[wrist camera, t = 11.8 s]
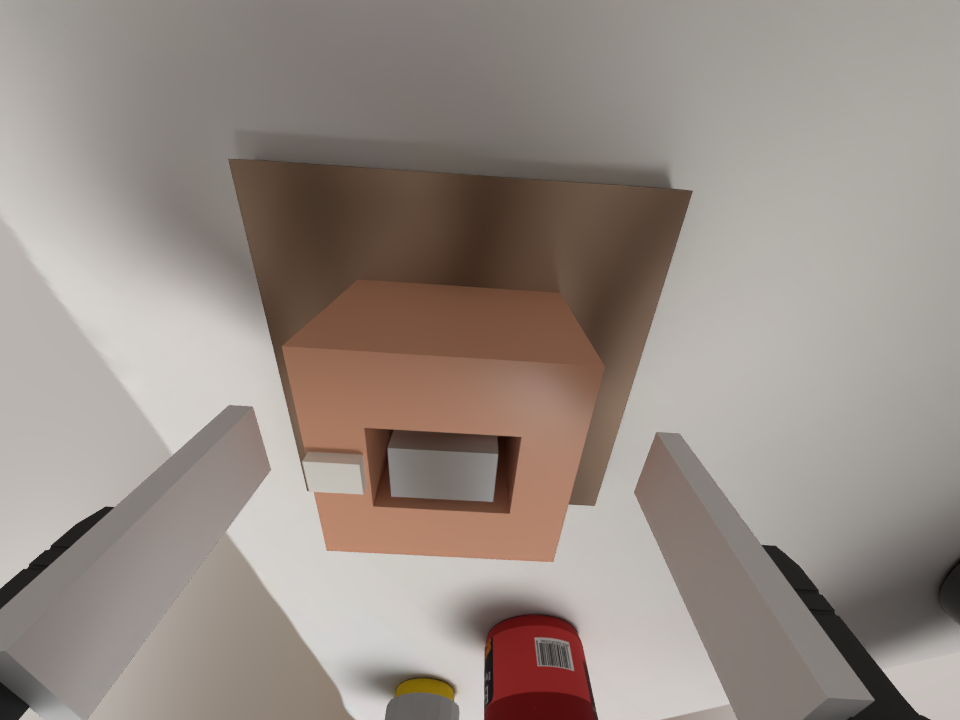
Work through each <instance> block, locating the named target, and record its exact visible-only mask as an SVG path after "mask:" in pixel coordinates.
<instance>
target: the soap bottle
mask: <svg viewBox="0 0 960 720" xmlns="http://www.w3.org/2000/svg"><path fill="white" fill-rule="evenodd" d="M385 720H459V706H458V705H457V704H456V703H455V702H454V692H453V689H452V688H451V687H450V686H449V685H448V684H446V683H444V682H442V681H439V680H434V679H429V678H416V679H411V680H407V681H405V682H403V683H401V684H400V685H399V686H398V688H397V690H396V693H395V697H394V698H393V699H391V700H390V702H389V704H388V705H387V709H386V716H385Z"/></svg>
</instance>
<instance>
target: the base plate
mask: <svg viewBox="0 0 960 720" xmlns="http://www.w3.org/2000/svg"><path fill="white" fill-rule="evenodd" d="M228 160H229V164H230V168H231V173H232V177H233V181H234V185H235V189H236V194H237V198H238V202H239V206H240V210H241V215H242V219H243V223H244V227H245V231H246V236H247V240H248V244H249V248H250V252H251V256H252V261H253V265H254V269H255V273H256V277H257V282H258V286H259V290H260V294H261V298H262V303H263V307H264V311H265V315H266V319H267V324H268V328H269V332H270V336H271V340H272V344H273V349H274V353H275V357H276V361H277V365H278V370H279V374H280V378H281V382H282V386H283V391H284V395H285V399H286V403H287V407H288V412H289V416H290V420H291V424H292V428H293V432H294V437H295V441H296V445H297V449H298V453H299V458H300V462H301V466H302V470H303V474H304V479H305V483H306V487H307V491H309V489H308V485H307V481H306V476H305V472H304V467H303V463H302V461H303V459H304V458H305V456H306V454H305V450H304V445H303V441H302V436H301V432H300V427H299V423H298V418H297V414H296V409H295V405H294V400H293V396H292V391H291V386H290V382H289V377H288V373H287V368H286V364H285V359H284V355H283V350H282V345H284V344H285V343H286V342H287V341H288V340H289V339H290V338H292V337H293V336H294V335H295V334H296V333H297V332H298V331H300V330H301V329H302V328H303V327H304V326H305V325H306V324H308V323H309V322H310V321H311V320H312V319H313V318H315V317H316V316H317V315H318V314H319V313H320V312H321V311H323V310H324V309H325V308H326V307H327V306H328V305H329V304H331V303H332V302H333V301H334V300H335V299H336V298H337V297H339V296H340V295H341V294H342V293H343V292H344V291H345V290H347V289H348V288H349V287H350V286H351V285H352V284H353V283H355V282H356V281H357V280H358V279H360V280H375V281H390V282H405V283H420V284H435V285H450V286H465V287H480V288H495V289H510V290H525V291H540V292H555V293H560V294H561V295H562V297H563V299H564V300H565V302H566V303H567V305H568V307H569V308H570V310H571V312H572V313H573V315H574V317H575V318H576V320H577V321H578V323H579V325H580V326H581V328H582V330H583V331H584V333H585V335H586V336H587V338H588V339H589V341H590V343H591V344H592V346H593V348H594V349H595V351H596V353H597V354H598V356H599V357H600V359H601V361H602V362H603V364H604V366H605V368H604V372H603V376H602V380H601V383H600V387H599V391H598V395H597V399H596V402H595V406H594V410H593V414H592V417H591V421H590V425H589V429H588V432H587V436H586V440H585V444H584V448H583V451H582V455H581V459H580V463H579V466H578V470H577V474H576V478H575V481H574V485H573V489H572V493H571V497H570V500H569V504H571V505H590V506H595V503H596V500H597V497H598V494H599V490H600V487H601V484H602V481H603V477H604V474H605V471H606V468H607V465H608V461H609V458H610V455H611V452H612V449H613V445H614V442H615V439H616V436H617V433H618V429H619V426H620V423H621V420H622V416H623V413H624V410H625V407H626V404H627V400H628V397H629V394H630V391H631V388H632V384H633V381H634V378H635V375H636V372H637V368H638V365H639V362H640V359H641V356H642V352H643V349H644V346H645V343H646V339H647V336H648V333H649V330H650V327H651V323H652V320H653V317H654V314H655V311H656V307H657V304H658V301H659V298H660V295H661V291H662V288H663V285H664V282H665V278H666V275H667V272H668V269H669V266H670V262H671V259H672V256H673V253H674V250H675V246H676V243H677V240H678V237H679V234H680V230H681V227H682V224H683V221H684V218H685V214H686V211H687V208H688V205H689V201H690V198H691V195H692V192H693V191H689V190H679V189H668V188H654V187H639V186H625V185H610V184H596V183H581V182H567V181H552V180H538V179H523V178H509V177H495V176H480V175H466V174H451V173H437V172H422V171H408V170H393V169H379V168H364V167H350V166H335V165H321V164H307V163H292V162H278V161H263V160H245V159H228ZM387 449H388V462H389V474H390V486H391V497H409V498H428V499H447V500H467V501H486V502H493V497H494V488H495V479H496V470H497V462H498V437H497V435H480V434H462V433H445V432H428V431H411V430H394V431H393V433H392V436H391V439H390V442H389V445H388V448H387Z"/></svg>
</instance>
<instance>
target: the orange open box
mask: <svg viewBox="0 0 960 720" xmlns="http://www.w3.org/2000/svg"><path fill="white" fill-rule="evenodd" d="M282 350H283V355H284V359H285V364H286V368H287V373H288V377H289V382H290V386H291V391H292V396H293V400H294V405H295V409H296V414H297V418H298V423H299V427H300V432H301V436H302V441H303V445H304V450H305V454H306V456H305V458H304V459H303V461H302V463H303V467H304V472H305V476H306V481H307V485H308V489H309V492H314V495H315V499H316V504H317V508H318V513H319V517H320V522H321V526H322V531H323V535H324V540H325V544H326V549H327V551H346V552H366V553H385V554H405V555H425V556H444V557H464V558H484V559H503V560H523V561H543V562H553V561H554V557H555V553H556V549H557V545H558V542H559V538H560V534H561V530H562V527H563V523H564V519H565V515H566V512H567V508H568V504H569V500H570V497H571V493H572V489H573V485H574V481H575V478H576V474H577V470H578V466H579V463H580V459H581V455H582V451H583V448H584V444H585V440H586V436H587V432H588V429H589V425H590V421H591V417H592V414H593V410H594V406H595V402H596V399H597V395H598V391H599V387H600V383H601V380H602V376H603V372H604V368H605V366H604V364H603V362H602V361H601V359H600V357H599V356H598V354H597V353H596V351H595V349H594V348H593V346H592V344H591V343H590V341H589V339H588V338H587V336H586V335H585V333H584V331H583V330H582V328H581V326H580V325H579V323H578V321H577V320H576V318H575V317H574V315H573V313H572V312H571V310H570V308H569V307H568V305H567V303H566V302H565V300H564V299H563V297H562V295H561V294H560V293H555V292H540V291H525V290H510V289H495V288H480V287H465V286H450V285H435V284H420V283H405V282H390V281H375V280H360V279H358V280H357V281H356V282H355V283H353V284H352V285H351V286H350V287H349V288H348V289H347V290H345V291H344V292H343V293H342V294H341V295H340V296H339V297H337V298H336V299H335V300H334V301H333V302H332V303H331V304H329V305H328V306H327V307H326V308H325V309H324V310H323V311H321V312H320V313H319V314H318V315H317V316H316V317H315V318H313V319H312V320H311V321H310V322H309V323H308V324H306V325H305V326H304V327H303V328H302V329H301V330H300V331H298V332H297V333H296V334H295V335H294V336H293V337H292V338H290V339H289V340H288V341H287V342H286V343H285V344H284V345H282ZM394 430H411V431H428V432H445V433H462V434H480V435H497V437H498V462H497V470H496V479H495V488H494V497H493V502H486V501H467V500H447V499H428V498H409V497H391V486H390V474H389V462H388V449H387V448H388V445H389V442H390V439H391V436H392V433H393V431H394Z"/></svg>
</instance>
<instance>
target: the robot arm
mask: <svg viewBox="0 0 960 720" xmlns="http://www.w3.org/2000/svg"><path fill="white" fill-rule="evenodd" d="M270 470H271V468H270V465H269V461H268V458H267V454H266V451H265V447H264V444H263V440H262V437H261V433H260V430H259V426H258V423H257V419H256V416H255V412H254V409H253V407H249V406H233V405H229V406H228V407H226V408H225V409H224V410H223V411H222V412H221V413H220V414H219V415H218V416H216V417H215V418H214V419H213V420H212V421H211V422H210V423H209V424H207V425H206V426H205V427H204V428H203V429H202V430H201V431H200V432H198V433H197V434H196V435H195V436H194V437H193V438H192V439H191V440H190V441H188V442H187V443H186V444H185V445H184V446H183V447H182V448H181V449H179V450H178V451H177V452H176V453H175V454H174V455H173V456H172V457H170V458H169V459H168V460H167V461H166V462H165V463H164V464H163V465H162V466H160V467H159V468H158V469H157V470H156V471H155V472H154V473H153V474H151V475H150V476H149V477H148V478H147V479H146V480H145V481H144V482H143V483H141V484H140V485H139V486H138V487H137V488H136V489H135V490H134V491H132V492H131V493H130V494H129V495H128V496H127V497H126V498H125V499H123V500H122V501H121V502H120V503H119V504H118V505H117V506H116V507H104V508H103V509H101V510H99V511H98V512H96V513H94V514H93V515H91V516H89V517H88V518H86V519H84V520H82V521H81V522H79V523H77V524H76V525H75V526H73V527H72V528H71V529H70V530H69V531H68V532H66V533H65V534H64V535H63V536H62V537H61V538H59V539H58V540H57V541H56V542H55V543H54V544H52V545H51V548H50V549H49V550H45V551H44V552H43V553H42V554H41V555H39V556H38V557H37V558H36V559H35V560H33V561H32V562H31V563H30V564H29V567H28V568H27V569H23V570H22V571H21V572H19V573H18V574H17V575H16V576H15V577H14V578H12V579H11V580H10V581H9V582H8V583H6V584H5V585H4V586H3V587H2V588H1V589H0V720H19V719H20V717H21V716H22V715H23V714H24V713H25V712H26V710H27V709H28V708H29V707H30V708H31V709H32V710H33V711H34V712H36V713H37V714H38V715H39V716H41V717H42V718H43V719H44V720H87V719H88V718H89V717H90V715H91V714H92V713H93V711H94V710H95V708H96V707H97V706H98V704H99V703H100V702H101V700H102V699H103V698H104V696H105V695H106V693H107V692H108V691H109V689H110V688H111V687H112V685H113V684H114V683H115V681H116V680H117V679H118V677H119V676H120V674H121V673H122V672H123V670H124V669H125V668H126V666H127V665H128V664H129V662H130V661H131V660H132V658H133V657H134V656H135V654H136V653H137V651H138V650H139V649H140V647H141V646H142V645H143V643H144V642H145V641H146V639H147V638H148V636H149V635H150V634H151V632H152V631H153V630H154V628H155V627H156V626H157V624H158V623H159V621H160V620H161V619H162V617H163V616H164V615H165V613H166V612H167V610H168V609H169V608H170V607H171V605H172V604H173V602H174V601H175V600H176V598H177V597H178V596H179V594H180V593H181V591H182V590H183V589H184V587H185V586H186V585H187V583H188V582H189V581H190V579H191V578H192V576H193V575H194V574H195V572H196V571H197V570H198V568H199V567H200V566H201V564H202V563H203V561H204V560H205V559H206V558H207V556H208V555H209V553H210V552H211V551H212V549H213V548H214V547H215V545H216V544H217V543H218V541H219V540H220V538H221V537H222V536H223V534H224V533H225V532H226V530H227V529H228V528H229V526H230V525H231V524H232V522H233V521H234V519H235V518H236V517H237V515H238V514H239V513H240V511H241V510H242V509H243V507H244V506H245V504H246V503H247V502H248V500H249V499H250V498H251V496H252V495H253V494H254V492H255V491H256V489H257V488H258V487H259V485H260V484H261V483H262V481H263V480H264V479H265V477H266V476H267V475H268V473H269V472H270ZM634 493H635V495H636V497H637V500H638V502H639V504H640V506H641V508H642V511H643V513H644V515H645V517H646V519H647V521H648V524H649V526H650V528H651V530H652V532H653V535H654V537H655V539H656V541H657V543H658V546H659V548H660V550H661V552H662V554H663V557H664V559H665V561H666V563H667V565H668V568H669V570H670V572H671V574H672V576H673V579H674V581H675V583H676V585H677V587H678V590H679V592H680V594H681V596H682V598H683V601H684V603H685V605H686V607H687V609H688V611H689V614H690V616H691V618H692V620H693V622H694V625H695V627H696V629H697V631H698V633H699V636H700V638H701V640H702V642H703V644H704V647H705V649H706V651H707V653H708V655H709V658H710V660H711V662H712V664H713V666H714V669H715V671H716V673H717V675H718V677H719V680H720V682H721V684H722V686H723V688H724V691H725V693H726V695H727V697H728V699H729V702H730V704H731V706H732V708H733V710H734V712H735V715H736V717H737V719H738V720H930V719H928V718H926V717H924V716H922V715H919V714H918V713H917V712H916V711H915V710H914V709H913V708H912V707H911V706H910V704H909V703H908V702H907V701H906V700H905V699H904V698H903V696H902V695H901V694H900V693H899V691H898V690H897V689H896V688H895V686H894V685H893V684H892V682H891V681H890V680H889V679H888V677H887V676H886V675H885V674H884V672H883V671H882V670H881V669H880V667H879V666H878V665H877V664H876V662H875V661H874V660H873V658H872V657H871V656H870V655H869V653H868V652H867V651H866V650H865V648H864V647H863V646H862V645H861V643H860V642H859V641H858V639H857V638H856V637H855V636H854V634H853V633H852V632H851V631H850V629H849V628H848V627H847V626H846V624H845V623H844V622H843V621H842V619H841V618H840V617H839V616H836V615H835V613H834V611H835V610H834V609H833V608H832V607H831V605H830V604H829V603H828V602H827V600H826V599H825V598H824V596H823V595H820V594H819V592H818V591H819V590H818V589H817V588H816V586H815V585H814V584H813V583H812V581H811V580H810V579H809V578H808V576H807V575H806V574H805V572H804V571H803V570H802V569H801V567H800V566H799V565H797V564H796V563H795V562H794V561H793V560H792V559H790V558H789V557H788V556H787V555H786V554H785V553H783V552H782V551H781V550H780V549H779V548H778V547H776V546H768V545H761V544H760V543H759V541H758V540H757V539H756V537H755V536H754V534H753V533H752V532H751V530H750V529H749V528H748V526H747V525H746V524H745V522H744V521H743V519H742V518H741V517H740V515H739V514H738V513H737V511H736V510H735V509H734V507H733V506H732V504H731V503H730V502H729V500H728V499H727V498H726V496H725V495H724V493H723V492H722V491H721V489H720V488H719V487H718V485H717V484H716V483H715V481H714V480H713V478H712V477H711V476H710V474H709V473H708V472H707V470H706V469H705V468H704V466H703V465H702V463H701V462H700V461H699V459H698V458H697V457H696V455H695V454H694V453H693V451H692V450H691V448H690V447H689V446H688V444H687V443H686V442H685V440H684V439H683V438H682V436H681V435H680V434H677V433H661V432H656V435H655V437H654V440H653V443H652V445H651V448H650V451H649V453H648V456H647V459H646V462H645V464H644V467H643V470H642V472H641V475H640V478H639V480H638V483H637V486H636V489H635V491H634ZM939 598H940V604H941V606H942V608H943V609H944V610H945V611H946V612H947V613H948V614H949V615H950V616H951V617H952V618H953V619H954V620H955V621H956V622H957V623H958V624H959V625H960V564H959V565H958V566H957V567H956V568H955V569H954V570H953V571H952V572H951V573H950V574H949V576H948V577H947V578H946V580H945V582H944V583H943V585H942V588H941V591H940V596H939Z"/></svg>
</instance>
